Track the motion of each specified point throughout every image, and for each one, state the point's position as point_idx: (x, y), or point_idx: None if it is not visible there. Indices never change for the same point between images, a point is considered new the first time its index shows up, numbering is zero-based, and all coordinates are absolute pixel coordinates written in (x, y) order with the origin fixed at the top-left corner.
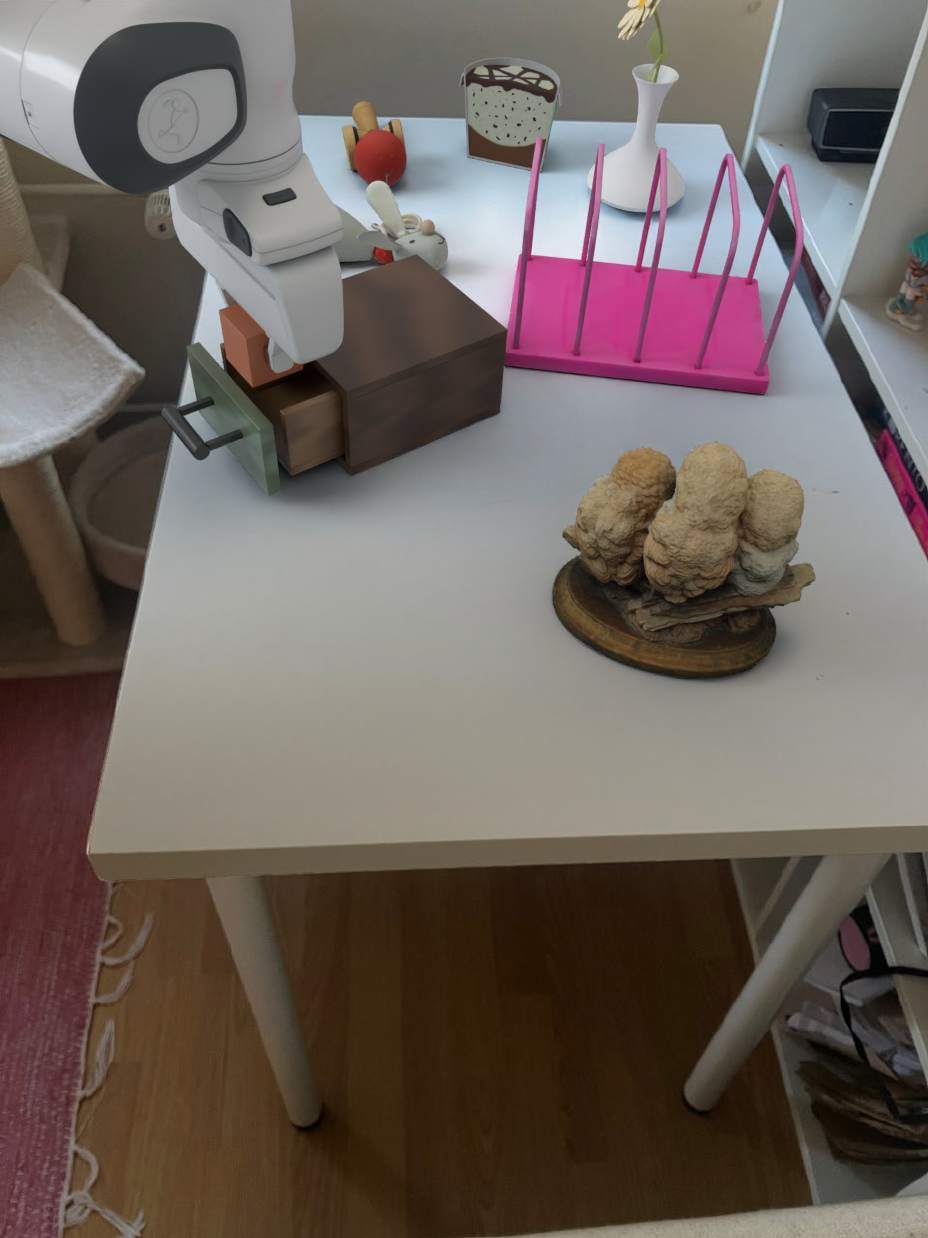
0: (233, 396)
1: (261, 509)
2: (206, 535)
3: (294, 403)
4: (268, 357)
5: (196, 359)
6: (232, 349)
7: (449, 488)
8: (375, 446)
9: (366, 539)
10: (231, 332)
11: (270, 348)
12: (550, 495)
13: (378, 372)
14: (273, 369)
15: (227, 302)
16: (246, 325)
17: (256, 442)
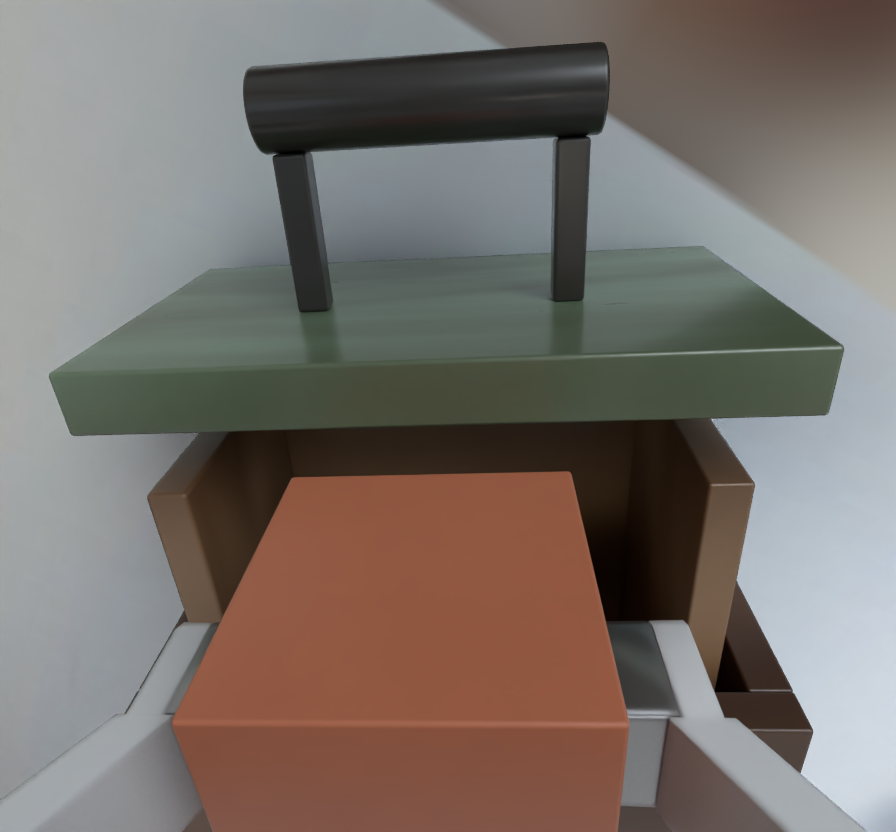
0: (324, 377)
1: (215, 230)
2: (155, 9)
3: None
4: (188, 676)
5: (713, 346)
6: (464, 545)
7: (141, 624)
8: None
9: (23, 414)
10: (430, 649)
11: (86, 761)
12: (67, 737)
13: (191, 824)
14: (172, 634)
15: (719, 769)
16: (327, 779)
17: (150, 333)
